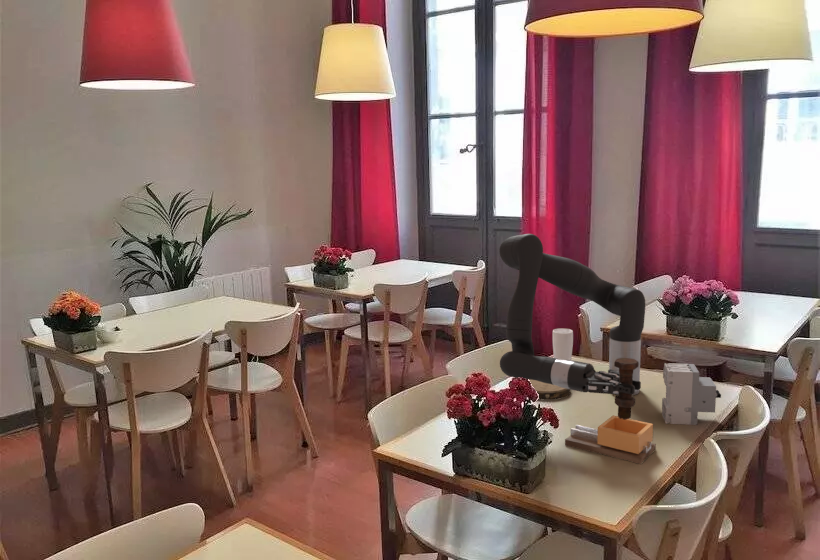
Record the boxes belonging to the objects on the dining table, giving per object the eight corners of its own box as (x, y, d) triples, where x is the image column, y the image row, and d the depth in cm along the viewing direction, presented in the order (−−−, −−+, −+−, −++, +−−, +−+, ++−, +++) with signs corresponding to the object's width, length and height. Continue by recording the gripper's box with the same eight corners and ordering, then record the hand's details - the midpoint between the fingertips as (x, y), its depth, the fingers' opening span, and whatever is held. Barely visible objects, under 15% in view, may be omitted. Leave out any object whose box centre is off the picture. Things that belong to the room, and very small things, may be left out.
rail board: (581, 432, 188) (581, 426, 188) (655, 449, 176) (655, 444, 176) (565, 444, 181) (565, 439, 180) (640, 464, 168) (641, 458, 168)
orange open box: (612, 431, 182) (612, 415, 182) (652, 440, 176) (653, 423, 175) (597, 444, 175) (597, 427, 174) (638, 454, 169) (639, 436, 168)
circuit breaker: (721, 425, 189) (723, 373, 187) (665, 423, 192) (667, 371, 190) (714, 415, 197) (717, 364, 194) (661, 413, 200) (663, 363, 197)
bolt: (608, 415, 176) (610, 358, 173) (624, 412, 178) (626, 356, 175) (624, 423, 171) (626, 365, 168) (640, 420, 173) (642, 362, 170)
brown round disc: (516, 384, 229) (516, 375, 229) (564, 382, 229) (564, 374, 229) (524, 401, 214) (524, 392, 213) (575, 399, 213) (576, 390, 213)
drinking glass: (552, 376, 235) (552, 333, 233) (552, 370, 242) (552, 328, 239) (573, 376, 234) (573, 333, 231) (572, 370, 241) (572, 328, 238)
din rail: (576, 430, 186) (576, 424, 185) (651, 448, 173) (651, 441, 173) (570, 435, 183) (570, 428, 183) (646, 453, 171) (646, 446, 170)
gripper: (560, 368, 175) (626, 381, 165) (584, 354, 186) (648, 366, 176) (559, 396, 177) (625, 411, 166) (583, 381, 188) (647, 394, 177)
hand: (636, 387), depth 171 cm, fingers closed on bolt, 3 cm apart
